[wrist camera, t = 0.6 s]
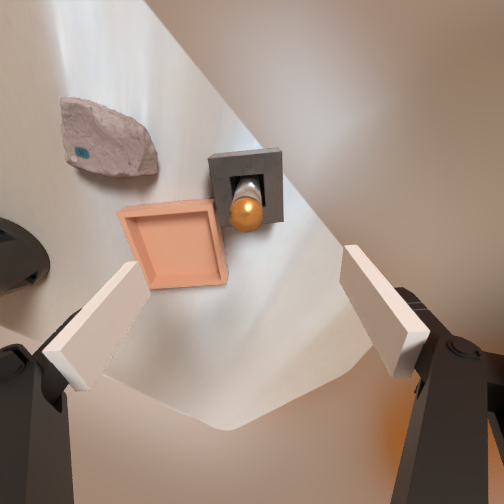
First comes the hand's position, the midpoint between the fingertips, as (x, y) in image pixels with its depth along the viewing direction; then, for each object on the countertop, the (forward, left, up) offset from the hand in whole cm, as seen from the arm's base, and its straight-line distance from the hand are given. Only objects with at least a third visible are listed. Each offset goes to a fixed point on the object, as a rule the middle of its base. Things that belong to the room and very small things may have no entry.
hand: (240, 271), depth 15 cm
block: (0, 0, -26) cm, 26 cm away
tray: (-14, -10, -26) cm, 32 cm away
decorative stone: (-20, +8, -27) cm, 34 cm away
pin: (0, 0, -26) cm, 26 cm away
